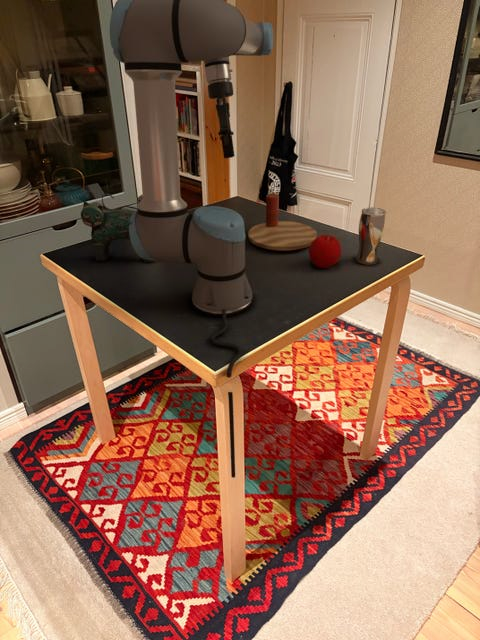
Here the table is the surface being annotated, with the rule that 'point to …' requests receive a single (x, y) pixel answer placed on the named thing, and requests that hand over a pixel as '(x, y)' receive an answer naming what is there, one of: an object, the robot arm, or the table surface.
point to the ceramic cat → (106, 226)
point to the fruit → (325, 251)
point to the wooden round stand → (280, 230)
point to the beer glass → (370, 234)
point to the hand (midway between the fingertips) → (229, 157)
